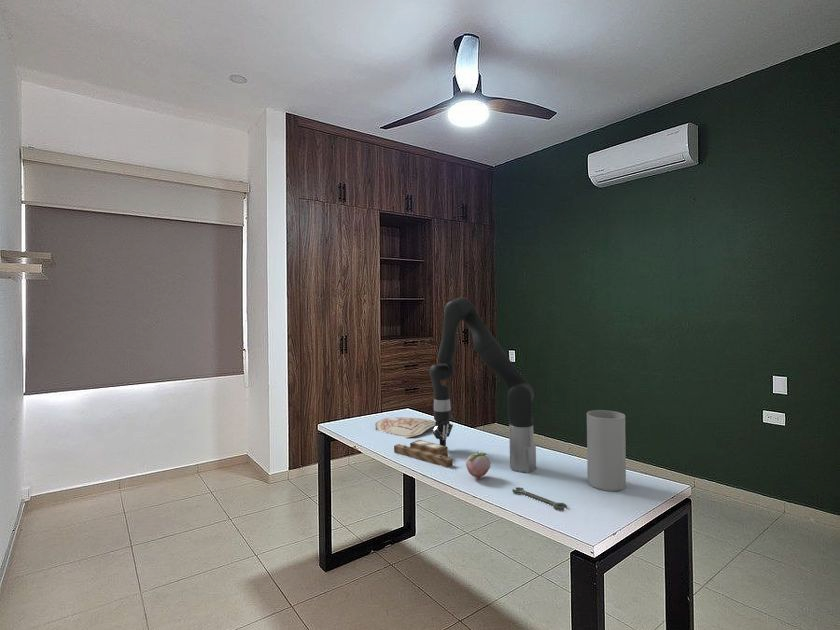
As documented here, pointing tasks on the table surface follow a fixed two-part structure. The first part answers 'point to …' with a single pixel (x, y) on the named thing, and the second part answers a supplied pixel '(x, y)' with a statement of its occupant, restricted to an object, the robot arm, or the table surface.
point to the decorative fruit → (478, 464)
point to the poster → (404, 426)
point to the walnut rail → (423, 455)
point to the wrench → (540, 499)
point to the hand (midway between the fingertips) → (442, 447)
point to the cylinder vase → (606, 450)
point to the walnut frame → (430, 447)
